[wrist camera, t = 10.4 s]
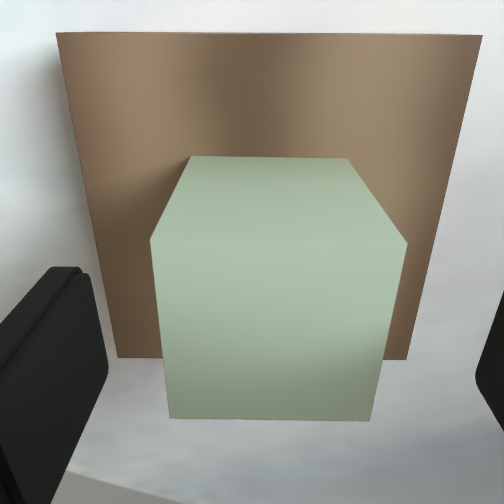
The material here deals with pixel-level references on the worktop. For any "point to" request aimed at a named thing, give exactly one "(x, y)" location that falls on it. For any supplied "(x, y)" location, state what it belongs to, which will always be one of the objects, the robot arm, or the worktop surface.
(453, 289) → the worktop surface
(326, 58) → the walnut plinth
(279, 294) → the sage block
